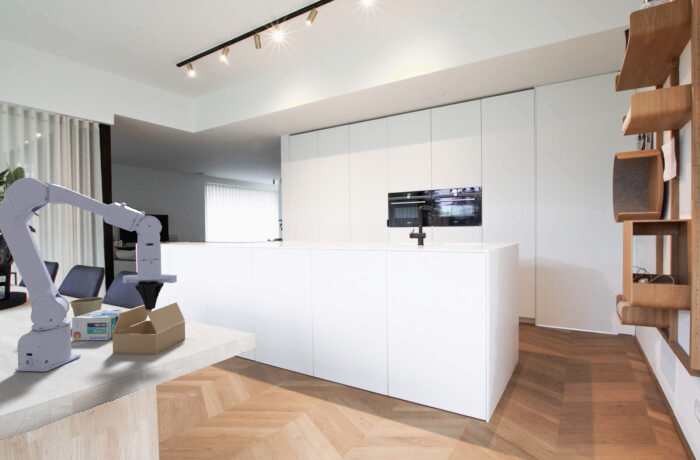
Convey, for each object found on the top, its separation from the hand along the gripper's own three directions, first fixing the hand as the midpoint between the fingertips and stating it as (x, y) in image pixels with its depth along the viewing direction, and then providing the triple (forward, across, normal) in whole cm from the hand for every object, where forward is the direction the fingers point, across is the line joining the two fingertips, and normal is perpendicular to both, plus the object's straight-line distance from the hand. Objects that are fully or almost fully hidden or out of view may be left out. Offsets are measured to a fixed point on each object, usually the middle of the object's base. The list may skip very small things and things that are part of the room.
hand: (150, 309), depth 98 cm
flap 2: (+2, -5, 0) cm, 5 cm away
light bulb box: (+7, +22, -13) cm, 26 cm away
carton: (+10, 0, 0) cm, 10 cm away
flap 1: (+2, +5, 0) cm, 5 cm away
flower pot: (+10, +35, -18) cm, 40 cm away
